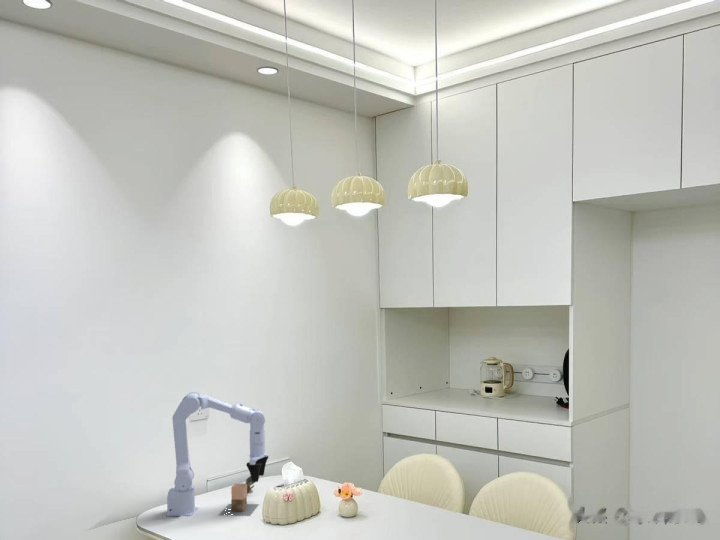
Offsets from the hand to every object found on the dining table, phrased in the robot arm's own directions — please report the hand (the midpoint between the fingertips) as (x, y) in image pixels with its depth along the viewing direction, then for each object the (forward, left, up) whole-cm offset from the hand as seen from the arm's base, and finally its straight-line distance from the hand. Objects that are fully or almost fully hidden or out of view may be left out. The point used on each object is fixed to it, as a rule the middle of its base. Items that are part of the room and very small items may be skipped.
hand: (258, 478), depth 232 cm
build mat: (-6, -5, -10) cm, 13 cm away
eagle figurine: (-9, +15, -11) cm, 20 cm away
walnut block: (-6, -5, -10) cm, 13 cm away
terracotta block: (-6, -5, -6) cm, 9 cm away
